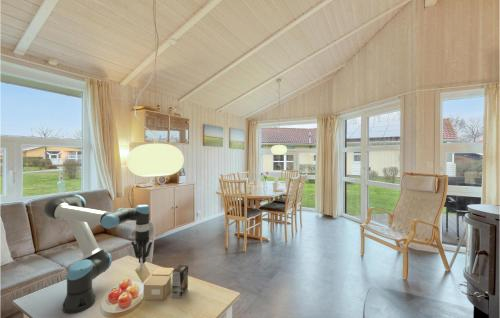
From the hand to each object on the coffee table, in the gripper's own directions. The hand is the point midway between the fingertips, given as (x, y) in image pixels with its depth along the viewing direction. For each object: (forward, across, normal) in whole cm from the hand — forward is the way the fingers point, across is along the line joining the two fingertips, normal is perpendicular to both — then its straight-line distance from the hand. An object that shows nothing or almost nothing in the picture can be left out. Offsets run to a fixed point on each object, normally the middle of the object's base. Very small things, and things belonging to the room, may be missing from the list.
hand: (142, 267), depth 141 cm
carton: (+16, +10, +4) cm, 20 cm away
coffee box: (+17, +24, +1) cm, 29 cm away
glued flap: (+7, +3, 0) cm, 7 cm away
